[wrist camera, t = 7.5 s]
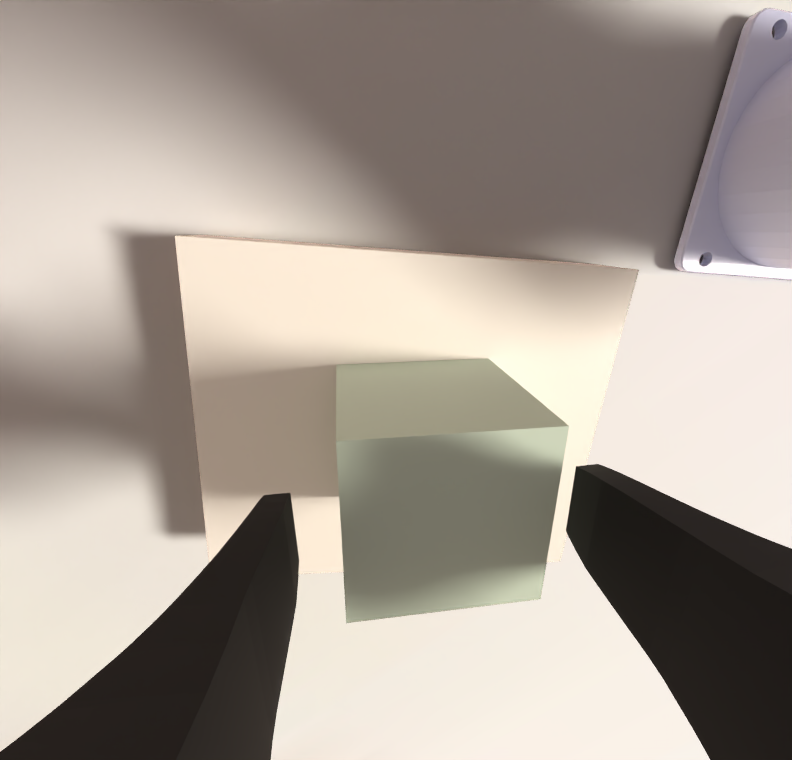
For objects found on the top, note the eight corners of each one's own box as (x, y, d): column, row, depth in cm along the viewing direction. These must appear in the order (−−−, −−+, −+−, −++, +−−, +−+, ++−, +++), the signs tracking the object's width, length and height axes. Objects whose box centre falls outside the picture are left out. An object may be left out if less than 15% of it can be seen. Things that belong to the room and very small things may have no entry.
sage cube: (488, 358, 13) (569, 425, 9) (477, 486, 15) (540, 599, 10) (336, 364, 13) (336, 441, 8) (343, 497, 14) (346, 622, 10)
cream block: (585, 263, 16) (638, 269, 13) (528, 515, 20) (559, 561, 17) (207, 234, 14) (174, 235, 11) (230, 523, 18) (210, 578, 15)
